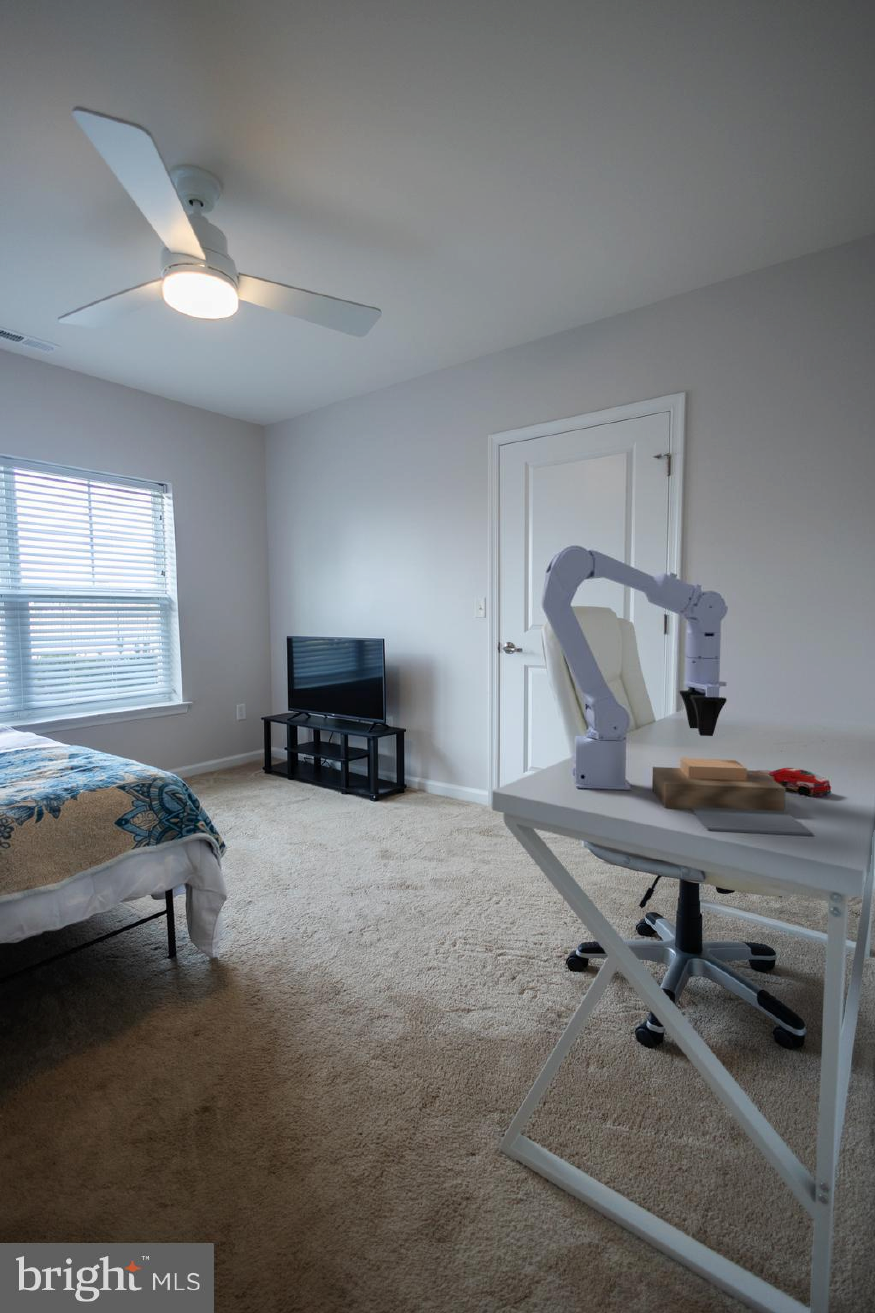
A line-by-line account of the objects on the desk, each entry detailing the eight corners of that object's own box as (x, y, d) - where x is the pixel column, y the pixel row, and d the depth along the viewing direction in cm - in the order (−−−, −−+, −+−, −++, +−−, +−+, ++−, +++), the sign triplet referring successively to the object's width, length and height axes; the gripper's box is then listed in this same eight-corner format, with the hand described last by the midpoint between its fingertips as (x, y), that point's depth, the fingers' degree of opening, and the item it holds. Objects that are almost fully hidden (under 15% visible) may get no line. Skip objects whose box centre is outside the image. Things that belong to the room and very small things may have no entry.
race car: (742, 785, 113) (743, 764, 113) (755, 780, 116) (756, 760, 116) (822, 801, 102) (822, 778, 102) (834, 795, 106) (834, 773, 106)
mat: (707, 830, 88) (707, 827, 88) (690, 809, 98) (690, 806, 98) (813, 835, 86) (813, 833, 86) (784, 813, 96) (784, 810, 96)
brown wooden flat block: (664, 807, 99) (665, 783, 98) (652, 789, 109) (652, 767, 109) (784, 813, 96) (785, 788, 95) (759, 793, 106) (760, 770, 106)
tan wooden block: (688, 778, 101) (688, 766, 101) (680, 769, 107) (680, 758, 107) (746, 780, 100) (746, 768, 100) (734, 771, 106) (735, 760, 106)
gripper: (739, 660, 103) (736, 740, 103) (714, 655, 117) (712, 725, 118) (695, 660, 104) (693, 739, 105) (676, 655, 118) (674, 724, 119)
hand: (700, 731), depth 111 cm, fingers open, 7 cm apart
